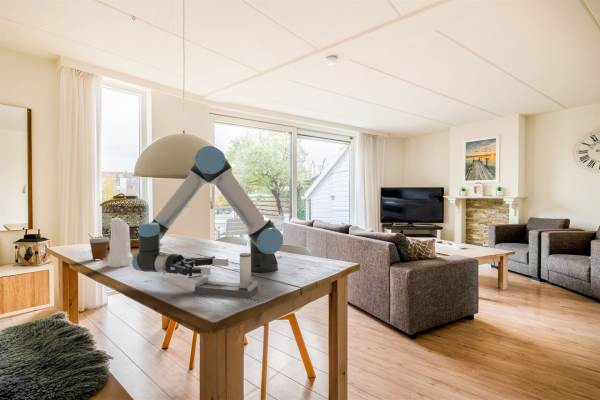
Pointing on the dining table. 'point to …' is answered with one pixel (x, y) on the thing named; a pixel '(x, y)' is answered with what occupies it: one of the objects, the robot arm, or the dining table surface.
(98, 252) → the disposable coffee cup
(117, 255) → the decorative vase
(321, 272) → the dining table surface
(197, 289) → the fader console
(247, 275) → the fader knob
